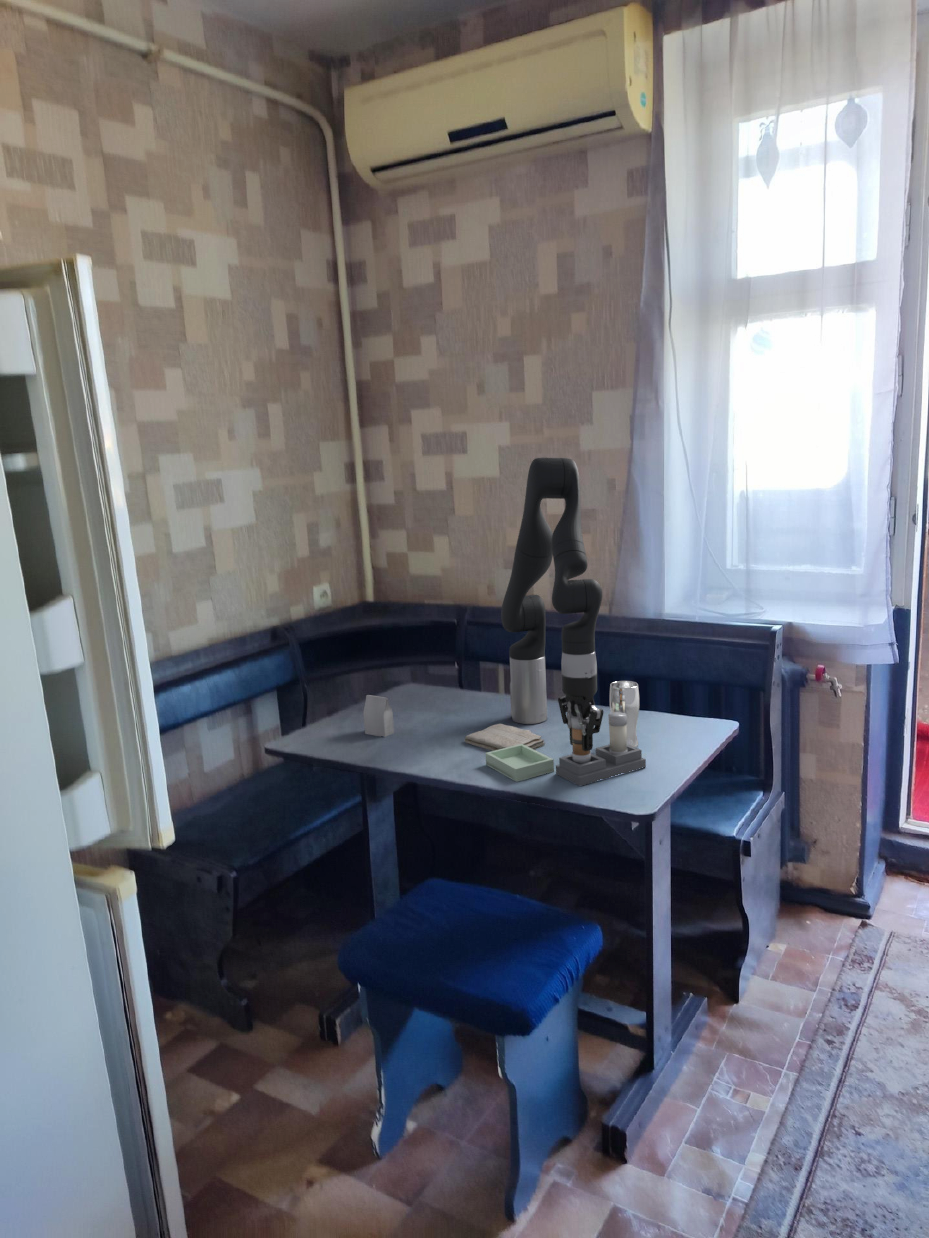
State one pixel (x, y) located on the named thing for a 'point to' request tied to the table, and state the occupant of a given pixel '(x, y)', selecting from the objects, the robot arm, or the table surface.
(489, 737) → the washcloth
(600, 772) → the fuse block
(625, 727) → the fuse
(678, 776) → the table surface
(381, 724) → the tea bag
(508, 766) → the parts tray
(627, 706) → the beer glass
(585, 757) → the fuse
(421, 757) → the table surface
